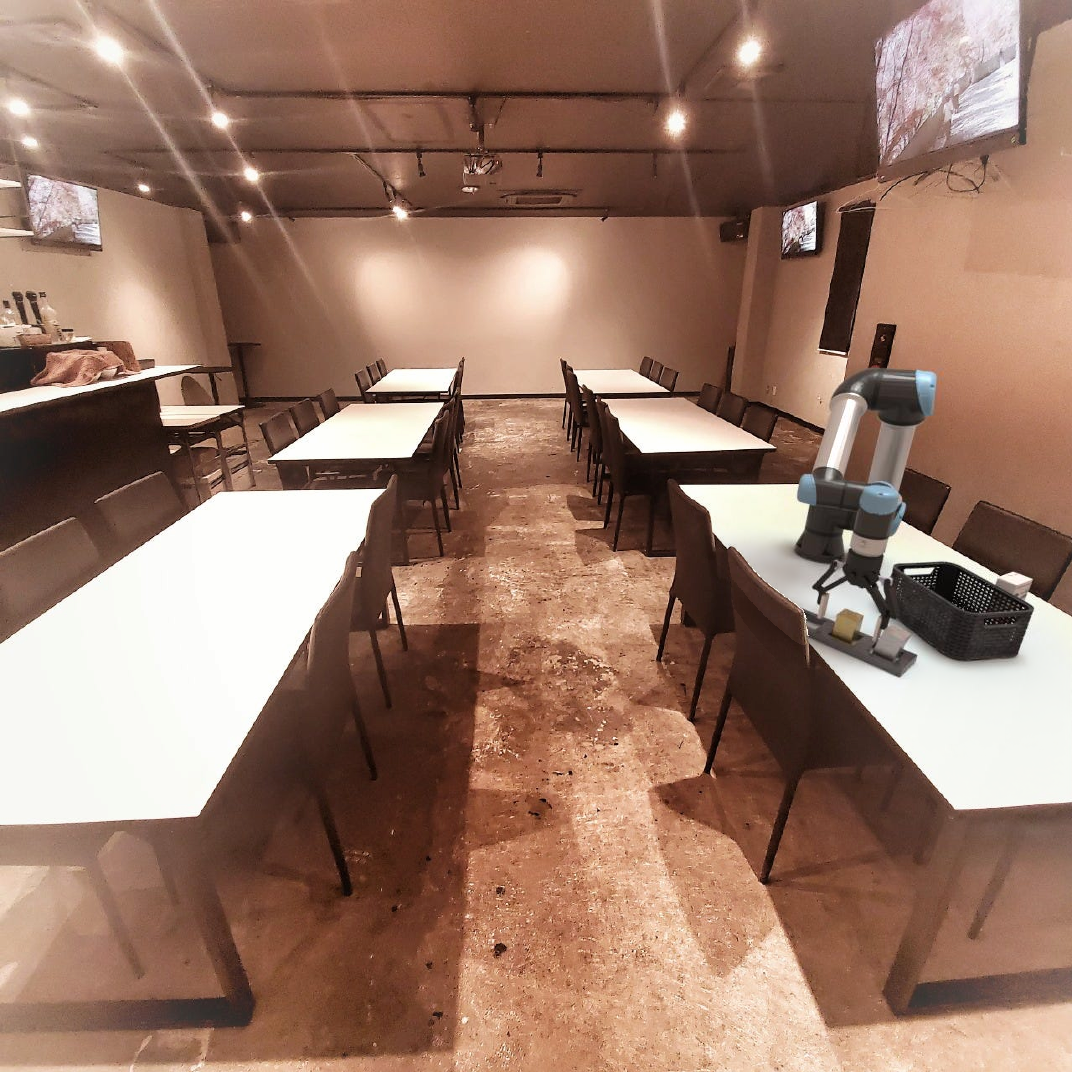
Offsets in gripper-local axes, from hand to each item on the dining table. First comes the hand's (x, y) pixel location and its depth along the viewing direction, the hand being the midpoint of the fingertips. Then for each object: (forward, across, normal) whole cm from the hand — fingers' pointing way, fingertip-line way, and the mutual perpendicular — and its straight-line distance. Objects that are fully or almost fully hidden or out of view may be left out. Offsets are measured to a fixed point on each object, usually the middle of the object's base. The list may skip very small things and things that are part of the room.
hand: (847, 627), depth 148 cm
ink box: (+5, +22, +47) cm, 52 cm away
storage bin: (+5, +14, +27) cm, 31 cm away
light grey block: (+4, +10, 0) cm, 10 cm away
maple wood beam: (+4, 0, 0) cm, 4 cm away
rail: (+4, 0, 0) cm, 4 cm away
